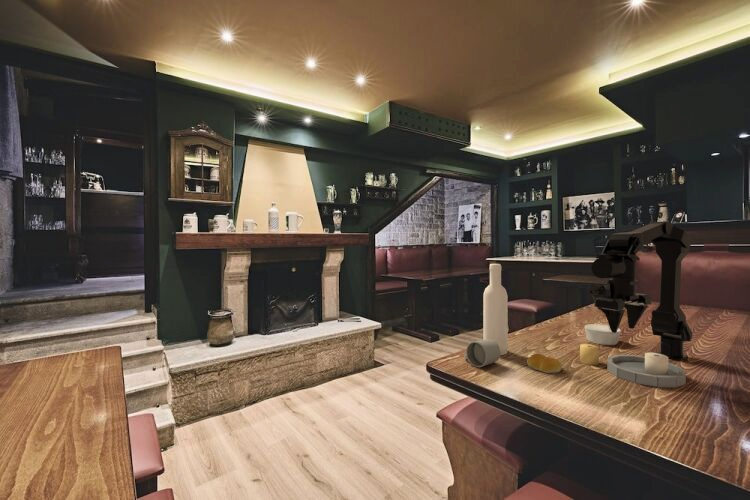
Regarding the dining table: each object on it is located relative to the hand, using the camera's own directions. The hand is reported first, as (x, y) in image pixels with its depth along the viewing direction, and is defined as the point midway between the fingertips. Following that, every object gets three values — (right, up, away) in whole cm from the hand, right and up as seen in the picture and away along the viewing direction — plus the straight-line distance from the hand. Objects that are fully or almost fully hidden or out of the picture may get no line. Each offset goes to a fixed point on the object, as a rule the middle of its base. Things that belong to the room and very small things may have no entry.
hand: (622, 330), depth 101 cm
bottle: (-31, -12, +18) cm, 37 cm away
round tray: (+4, -12, -3) cm, 13 cm away
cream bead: (+5, -11, -5) cm, 13 cm away
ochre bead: (-5, -12, +7) cm, 15 cm away
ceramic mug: (-39, -12, +8) cm, 42 cm away
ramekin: (+12, -11, +28) cm, 33 cm away
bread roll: (-21, -12, +3) cm, 25 cm away
